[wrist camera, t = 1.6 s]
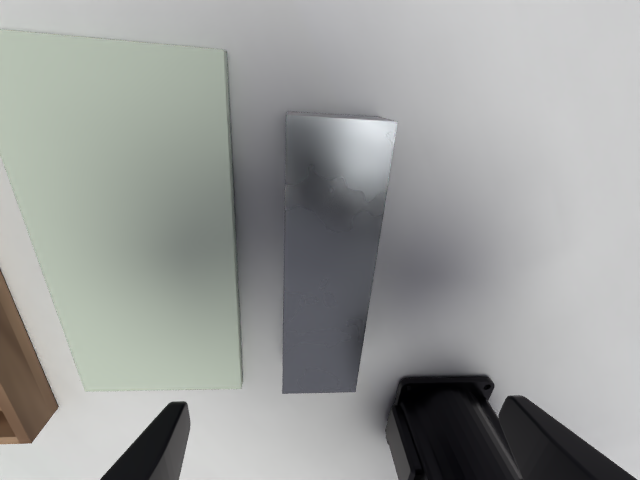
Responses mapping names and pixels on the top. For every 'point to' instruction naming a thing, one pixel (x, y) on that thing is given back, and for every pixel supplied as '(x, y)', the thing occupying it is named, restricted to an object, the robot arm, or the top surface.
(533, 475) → the robot arm
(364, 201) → the gunmetal bar
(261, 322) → the top surface
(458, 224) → the top surface
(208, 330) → the sage mat
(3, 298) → the walnut slot tray
